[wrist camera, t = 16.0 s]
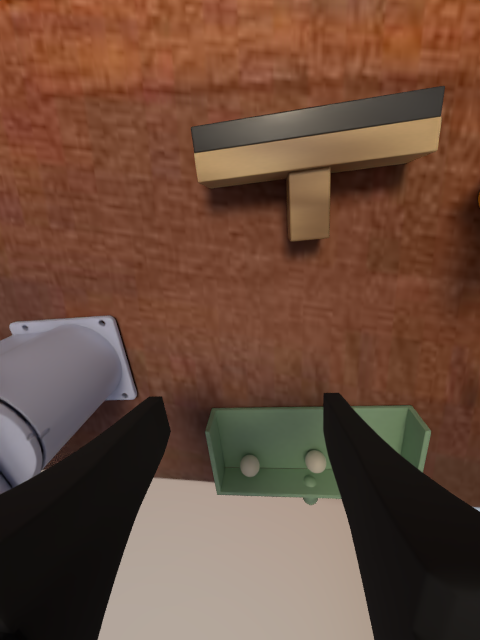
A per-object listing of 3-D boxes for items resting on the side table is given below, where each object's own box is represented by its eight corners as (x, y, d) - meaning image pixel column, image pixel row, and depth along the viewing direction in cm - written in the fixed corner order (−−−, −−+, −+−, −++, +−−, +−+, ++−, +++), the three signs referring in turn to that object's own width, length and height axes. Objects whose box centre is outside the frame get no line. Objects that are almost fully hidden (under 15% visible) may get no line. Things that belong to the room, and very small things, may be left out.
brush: (203, 142, 16) (216, 245, 18) (189, 125, 13) (207, 250, 15) (412, 109, 14) (399, 227, 17) (447, 83, 12) (426, 229, 14)
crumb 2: (306, 464, 22) (303, 446, 23) (307, 478, 22) (304, 459, 24) (328, 463, 22) (323, 445, 23) (328, 477, 22) (323, 459, 24)
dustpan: (211, 407, 23) (204, 431, 21) (411, 405, 21) (431, 431, 19) (224, 482, 27) (220, 511, 24) (398, 487, 25) (413, 518, 22)
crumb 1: (241, 449, 24) (243, 459, 25) (236, 469, 23) (239, 478, 24) (259, 452, 24) (262, 462, 25) (256, 472, 22) (258, 482, 23)
